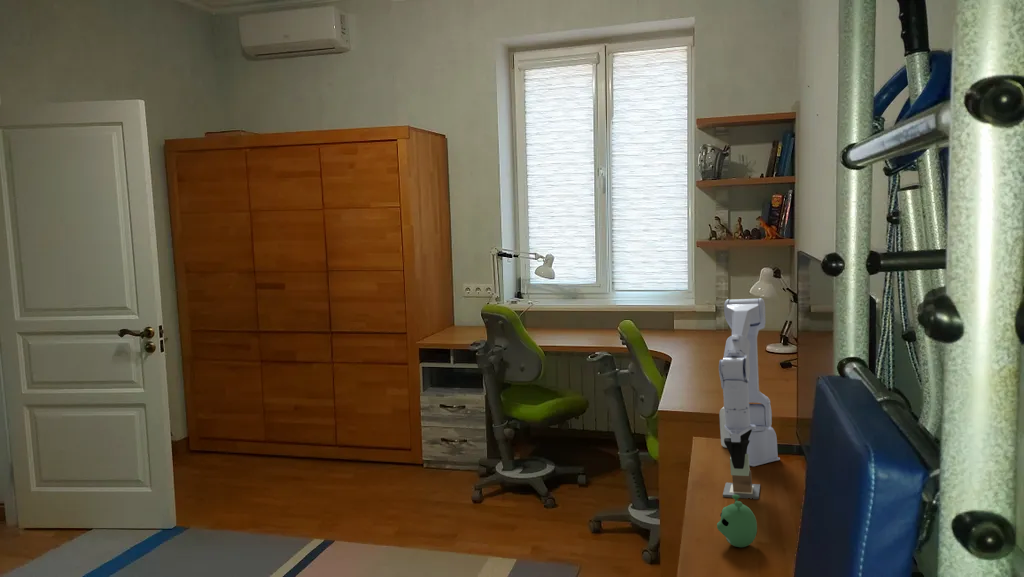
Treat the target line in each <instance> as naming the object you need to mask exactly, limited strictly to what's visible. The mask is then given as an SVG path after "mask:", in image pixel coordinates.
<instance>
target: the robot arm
mask: <svg viewBox="0 0 1024 577" xmlns="http://www.w3.org/2000/svg"><path fill="white" fill-rule="evenodd" d="M723 304H724V307H723V312H724V319H725V321H726V323H727V325H728V326H729V329H731V335H730V336H729V337H727V339H726V341H725V346H724V351H723V357H722V359H719V363H718V374H719V379H720V387H721V390H722V394H723V407H724V413H725V425H724V427H725V430H726V431H727V432H728V433H729V434H730V436H731V438H724V443H725V445H726V447H727V448H726V447H725V448H726V449H727V450H728V453H729V456H730V457H731V460H732V463H733V466H734V468H735V469H743V468H744V463H745V454H749V467H756V466H757V467H758V466H760V465H764V464H768V463H773V462H777V461H780V460H781V458H780V457H778V454H779V453H778V439H777V434H776V431H775V429H774V428H773V426H772V422H773V420H772V418H773V413H772V406H771V399H770V398H769V397H768V396H767V395H766V394H764V393H762V392H761V390H760V385H759V384H760V383H759V382H760V381H759V380H760V379H759V357H758V354H759V353H758V352H759V351H758V335H759V331H760V330H761V331H762V330H763V329H765V328H766V322H767V321H766V304H765V300H764V299H763V298H762V297H759V298H740V299H739V298H738V299H737V298H736V299H735V298H734V299H729V298H727V299H726V300H724V303H723Z"/></svg>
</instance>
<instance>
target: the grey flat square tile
mask: <svg viewBox="0 0 1024 577" xmlns="http://www.w3.org/2000/svg"><path fill="white" fill-rule="evenodd" d="M760 491H761V483H752V490H751V493H749V492H733V482H725V485H724V488H723V493H722V497H723V498H732V496H733V495H739V496H740V498H739V499H748V498H750V499H751V500H759V499H760ZM752 498H753V499H752Z"/></svg>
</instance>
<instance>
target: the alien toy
mask: <svg viewBox="0 0 1024 577" xmlns="http://www.w3.org/2000/svg"><path fill="white" fill-rule="evenodd" d="M731 498H732V499H734V503H731V504H729V505H727V506H724V507H723V508H722V510H721V513H720V515H719V516H720V520H719V521H718V522H717V523H716V528H717V530H718V531H719V532H720V533H721V534H722V535H723V536H724V538H726V542H727V543H729V544H730V545H731V546H733V547H737V548H746V547H748V546H750V545H751V544H753V542H754V540H755V539H756V536H757V532H758V522H757V519H756V515H755V514H754V513H753V511H752V510H751V508H750V507H748V506H747V505H746V504H743V502H742V501H740V500H739V499H741V498H740V496H739V495H733V496H732V497H731Z"/></svg>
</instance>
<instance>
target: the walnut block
mask: <svg viewBox="0 0 1024 577" xmlns="http://www.w3.org/2000/svg"><path fill="white" fill-rule="evenodd" d="M731 476H732V483H733V492H749V493H751V490H752V484H753V482H752V481H753V480H752V479H753V478H752V470H750V471H749V476H738V475H731Z"/></svg>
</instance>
